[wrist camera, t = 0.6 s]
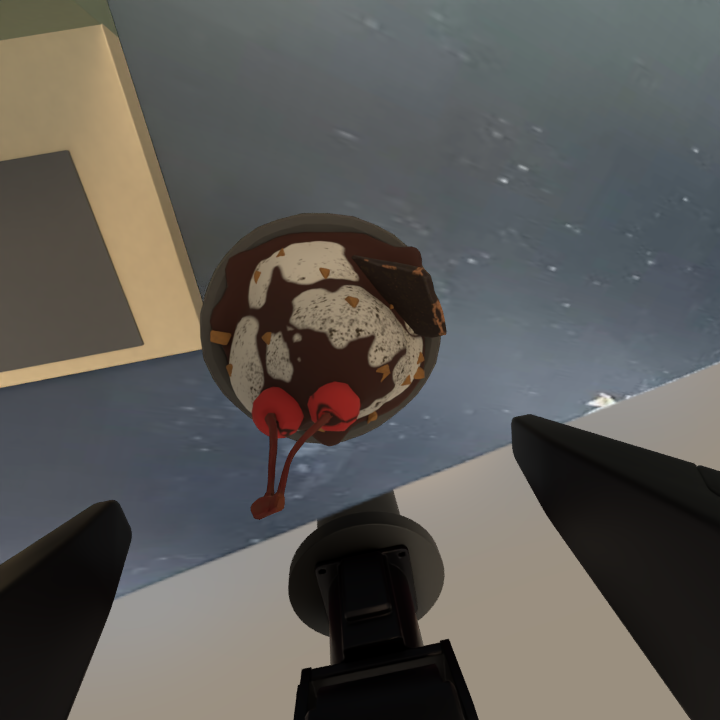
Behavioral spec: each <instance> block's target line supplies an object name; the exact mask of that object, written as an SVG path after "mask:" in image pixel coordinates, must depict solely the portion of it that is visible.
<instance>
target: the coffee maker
mask: <svg viewBox="0 0 720 720" xmlns="http://www.w3.org/2000/svg"><path fill="white" fill-rule="evenodd" d="M202 305H203V302H202V299H201V295H200V292H199V289H198V286H197V283H196V280H195V277H194V273H193V270H192V267H191V264H190V261H189V258H188V254H187V251H186V248H185V245H184V242H183V239H182V236H181V232H180V229H179V226H178V223H177V220H176V217H175V214H174V210H173V207H172V204H171V201H170V198H169V195H168V192H167V188H166V185H165V182H164V179H163V176H162V173H161V170H160V166H159V163H158V160H157V157H156V154H155V151H154V148H153V144H152V141H151V138H150V135H149V132H148V129H147V126H146V122H145V119H144V116H143V113H142V110H141V107H140V104H139V100H138V97H137V94H136V91H135V88H134V85H133V82H132V78H131V75H130V72H129V69H128V66H127V63H126V60H125V56H124V53H123V50H122V47H121V44H120V41H119V37H118V34H117V31H116V28H115V25H114V22H113V18H112V15H111V12H110V9H109V6H108V3H107V0H0V388H2V387H7V386H13V385H18V384H23V383H28V382H34V381H39V380H44V379H49V378H55V377H60V376H65V375H70V374H75V373H81V372H86V371H91V370H96V369H102V368H107V367H112V366H117V365H122V364H128V363H133V362H138V361H143V360H149V359H154V358H159V357H164V356H170V355H175V354H180V353H185V352H190V351H196V350H201V349H202V346H201V340H200V312H201V308H202Z"/></svg>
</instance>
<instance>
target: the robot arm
mask: <svg viewBox="0 0 720 720" xmlns="http://www.w3.org/2000/svg"><path fill="white" fill-rule="evenodd" d="M511 430H512V449H513V453H514V457H515V459H516V461H517V463H518V465H519V466H520V468H521V470H522V472H523V474H524V476H525V477H526V479H527V481H528V483H529V485H530V486H531V488H532V490H533V492H534V494H535V496H536V497H537V499H538V501H539V503H540V504H541V506H542V508H543V510H544V511H545V513H546V515H547V516H548V518H549V519H550V521H551V522H552V524H553V525H554V527H555V528H556V530H557V531H558V532H559V534H560V535H561V536H562V538H563V539H564V541H565V542H566V544H567V545H568V546H569V548H570V549H571V551H572V552H573V553H574V555H575V556H576V558H577V559H578V561H579V562H580V564H581V565H582V566H583V568H584V569H585V570H586V572H587V573H588V575H589V576H590V577H591V579H592V580H593V582H594V583H595V585H596V586H597V588H598V589H599V590H600V592H601V593H602V595H603V596H604V598H605V599H606V600H607V601H608V603H609V605H610V606H611V607H612V609H613V610H614V611H615V613H616V615H617V616H618V617H619V619H620V620H621V622H622V623H623V625H624V626H625V627H626V629H627V630H628V632H629V633H630V634H631V636H632V637H633V639H634V640H635V642H636V643H637V644H638V646H639V647H640V649H641V650H642V651H643V653H644V654H645V656H646V657H647V659H648V660H649V661H650V663H651V664H652V666H653V667H654V668H655V670H656V671H657V673H658V674H659V676H660V677H661V678H662V680H663V681H664V683H665V684H666V685H667V687H668V688H669V689H670V691H671V693H672V694H673V695H674V697H675V698H676V700H677V701H678V702H679V704H680V705H681V707H682V708H683V710H684V711H685V712H686V714H687V715H688V717H689V718H690V719H691V720H720V471H717V470H714V469H711V468H707V467H704V466H696V465H695V464H694V463H691V462H687V461H684V460H681V459H677V458H674V457H671V456H667V455H664V454H661V453H658V452H654V451H651V450H647V449H644V448H641V447H637V446H634V445H631V444H627V443H624V442H621V441H617V440H614V439H611V438H607V437H604V436H601V435H598V434H595V433H591V432H588V431H585V430H581V429H578V428H574V427H571V426H568V425H565V424H561V423H558V422H555V421H552V420H548V419H545V418H542V417H538V416H535V415H532V414H527V415H522V416H518V417H514V418H513V419H512V423H511ZM131 539H132V531H131V527H130V525H129V523H128V521H127V519H126V517H125V514H124V512H123V510H122V508H121V506H120V504H119V503H118V502H117V501H115V500H109V501H104V502H99V503H96V504H93V505H92V506H90V507H89V508H87V509H86V510H84V511H82V512H81V513H79V514H78V515H76V516H75V517H73V518H72V519H70V520H69V521H67V522H66V523H64V524H62V525H61V526H59V527H58V528H56V529H55V530H53V531H52V532H50V533H49V534H47V535H46V536H44V537H43V538H41V539H39V540H38V541H36V542H35V543H33V544H32V545H30V546H29V547H27V548H26V549H24V550H23V551H21V552H19V553H18V554H16V555H15V556H13V557H12V558H10V559H9V560H7V561H6V562H4V563H3V564H1V565H0V720H67V718H68V716H69V713H70V711H71V708H72V706H73V703H74V701H75V698H76V696H77V693H78V691H79V688H80V686H81V683H82V681H83V678H84V676H85V673H86V671H87V668H88V666H89V663H90V660H91V658H92V656H93V653H94V650H95V648H96V646H97V643H98V641H99V638H100V636H101V633H102V631H103V628H104V626H105V623H106V621H107V618H108V615H109V612H110V610H111V607H112V603H113V601H114V598H115V594H116V591H117V587H118V584H119V581H120V577H121V574H122V570H123V567H124V563H125V560H126V557H127V553H128V550H129V546H130V543H131ZM400 552H402V553H400ZM315 574H316V577H317V581H318V584H319V588H320V591H321V595H322V598H323V602H324V605H325V609H326V612H327V616H328V619H329V634H330V663H331V665H329V666H324V667H319V668H315V669H312V668H311V667H310V668H305V669H302V672H301V680H300V685H298V688H297V694H296V704H295V712H294V720H479V719H478V716H477V713H476V710H475V707H474V704H473V701H472V698H471V696H470V693H469V690H468V688H467V685H466V683H465V680H464V677H463V675H462V672H461V669H460V667H459V664H458V662H457V659H456V656H455V654H454V651H453V649H452V646H451V643H450V641H449V639H446V640H441V641H440V643H436V644H431V645H426V646H424V645H423V641H422V637H421V633H420V629H419V625H418V621H417V617H416V612H417V611H418V606H417V600H416V594H415V588H414V581H413V575H412V569H411V563H410V557H409V552H408V548H407V546H405V545H403V544H401V545H395V546H391V547H386V548H381V549H377V550H372V551H367V552H362V553H358V554H353V555H348V556H344V557H339V558H334V559H330V560H325V561H321V562H318V563H317V564H316V566H315Z"/></svg>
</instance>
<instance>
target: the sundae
mask: <svg viewBox="0 0 720 720" xmlns="http://www.w3.org/2000/svg"><path fill="white" fill-rule="evenodd" d="M442 335H446V325H445V319H444V315H443V311H442V307H441V305H440V302H439V300H438V298H437V296H436V294H435V291H434V287H433V282H432V279H431V276H430V274H429V273H428V272H427V271H426V270H425V269H424V267H423V266H422V258H421V254H420V252H419V251H418V249H417V248H414V247H407V246H406V245H405V244H404V243H403V242H402V241H400V240H399V239H398V238H397V237H396V236H395V235H393V234H392V233H390V232H388V231H386V230H384V229H382V228H380V227H379V226H377V225H374V224H372V223H369V222H366V221H364V220H361V219H359V218H356V217H354V216H346V215H338V214H329V213H302V214H298V215H294V216H290V217H286V218H282V219H278V220H275V221H273V222H270V223H268V224H265V225H263V226H260V227H258V228H256V229H255V230H253V231H252V232H250V233H249V234H247V235H246V236H245V237H243V238H242V239H240V240H239V241H238V242H237V243H236V244H235V245H234V246H233V247H232V248H231V249H230V250H229V251H228V252H227V254H226V255H225V257H224V258H223V259H222V261H221V262H220V264H219V265H218V266H217V268H216V269H215V271H214V273H213V276H212V278H211V280H210V283H209V285H208V288H207V290H206V294H205V297H204V301H203V305H202V308H201V312H200V340H201V346H202V352H203V358H204V361H205V363H206V365H207V367H208V369H209V371H210V373H211V375H212V378H213V379H214V381H215V382H216V384H217V385H218V387H219V388H220V390H221V391H222V393H223V394H224V395H225V396H226V397H227V398H228V399H229V400H230V401H231V402H232V403H233V404H234V405H235V406H236V407H238V408H239V409H240V410H241V411H242V412H244V413H245V414H246V415H247V416H248V417H250V418H251V419H253V422H254V423H255V425H256V426H257V428H258V429H259V430H260V431H261V432H262V433H264V434H265V435H267V436H269V437H270V449H269V463H268V485H267V492H266V494H265V495H264V497H261V498H259V499H257V500H256V501H255V502H254V503H253V504H252V506H251V512H252V515H253V517H254V518H255V519H259V520H260V519H262V518H264V517H267V516H269V515H271V514H274V513H276V512H279V511H281V510H282V509H284V505H285V497H284V492H285V487H286V482H287V477H288V472H289V467H290V464H291V462H292V459H293V457H294V455H295V454H296V452H297V451H298V450H299V449H300V447H301V446H302V445H303V444H304V442H307V443H321V444H323V445H327V446H333V445H336V444H338V443H340V442H343V441H346V440H349V439H352V438H355V437H357V436H360V435H363V434H365V433H367V432H369V431H371V430H373V429H375V428H377V427H379V426H380V425H382V424H383V423H384V422H386V421H387V420H388V419H390V418H391V417H393V416H394V415H395V414H396V413H397V412H399V411H400V410H401V409H402V408H403V407H405V406H406V405H407V404H408V403H409V402H410V401H411V400H412V399H413V398H414V397H415V396H416V395H417V394H418V393H419V391H420V390H421V388H422V387H423V386H424V384H425V383H426V381H427V379H428V378H429V376H430V374H431V372H432V370H433V368H434V366H435V364H436V361H437V356H438V351H439V347H440V340H441V336H442ZM286 437H287V438H290V439H293V440H296V441H297V442H296V443H295V445H294V446H293V448H292V449H291V451H290V453H289V455H288V457H287V460H286V462H285V465H284V468H283V471H282V475H281V479H280V483H279V486H278V490H277V492H276V493H275V494H274V480H275V464H276V455H277V440H278V438H286Z"/></svg>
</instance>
